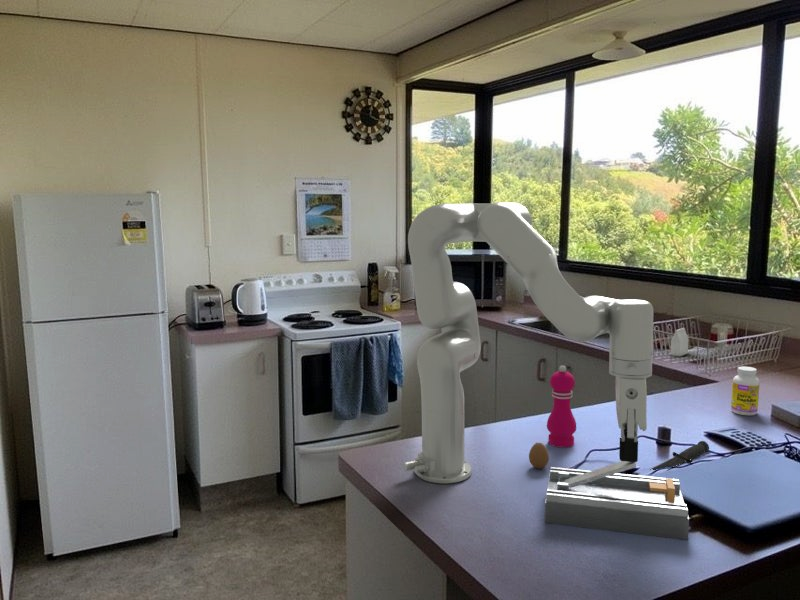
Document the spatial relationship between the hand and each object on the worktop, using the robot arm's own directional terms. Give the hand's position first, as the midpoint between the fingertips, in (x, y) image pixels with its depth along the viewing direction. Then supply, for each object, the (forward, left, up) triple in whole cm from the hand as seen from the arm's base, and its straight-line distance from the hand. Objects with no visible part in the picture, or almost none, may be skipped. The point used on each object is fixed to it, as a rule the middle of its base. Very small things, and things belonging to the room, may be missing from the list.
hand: (628, 459), depth 122 cm
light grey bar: (-4, +4, -4) cm, 7 cm away
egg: (0, +26, -12) cm, 28 cm away
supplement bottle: (+75, +26, -12) cm, 80 cm away
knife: (+30, +12, -12) cm, 34 cm away
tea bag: (+119, +82, -12) cm, 145 cm away
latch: (+4, -4, -7) cm, 9 cm away
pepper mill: (+15, +35, -11) cm, 40 cm away
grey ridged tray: (-2, +2, -11) cm, 11 cm away
